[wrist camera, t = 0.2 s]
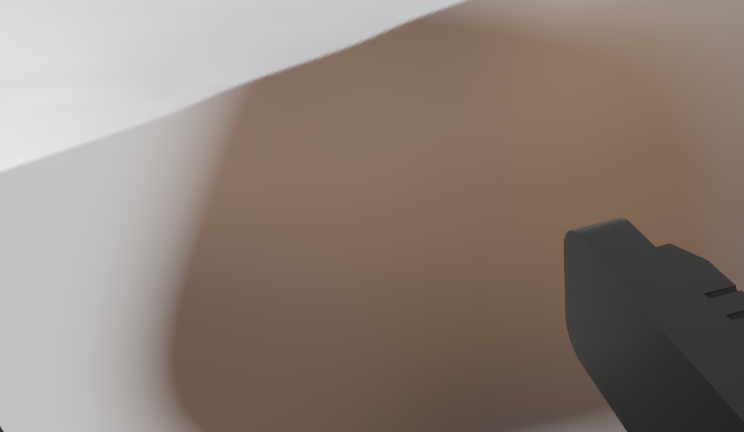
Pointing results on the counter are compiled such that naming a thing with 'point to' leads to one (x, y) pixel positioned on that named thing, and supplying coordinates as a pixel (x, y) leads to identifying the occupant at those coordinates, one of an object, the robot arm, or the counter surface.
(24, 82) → the counter surface
